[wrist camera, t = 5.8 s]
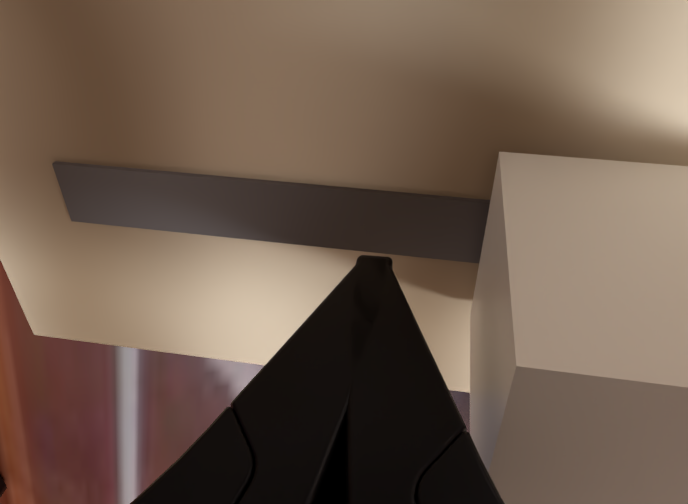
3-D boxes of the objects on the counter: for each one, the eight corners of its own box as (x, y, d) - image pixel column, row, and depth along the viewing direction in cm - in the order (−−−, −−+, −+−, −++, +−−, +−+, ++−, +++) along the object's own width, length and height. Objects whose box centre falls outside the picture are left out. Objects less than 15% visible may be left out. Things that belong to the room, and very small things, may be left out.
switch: (470, 315, 10) (469, 544, 7) (499, 151, 8) (516, 365, 5) (713, 343, 10) (830, 605, 7) (803, 175, 8) (1030, 430, 5)
